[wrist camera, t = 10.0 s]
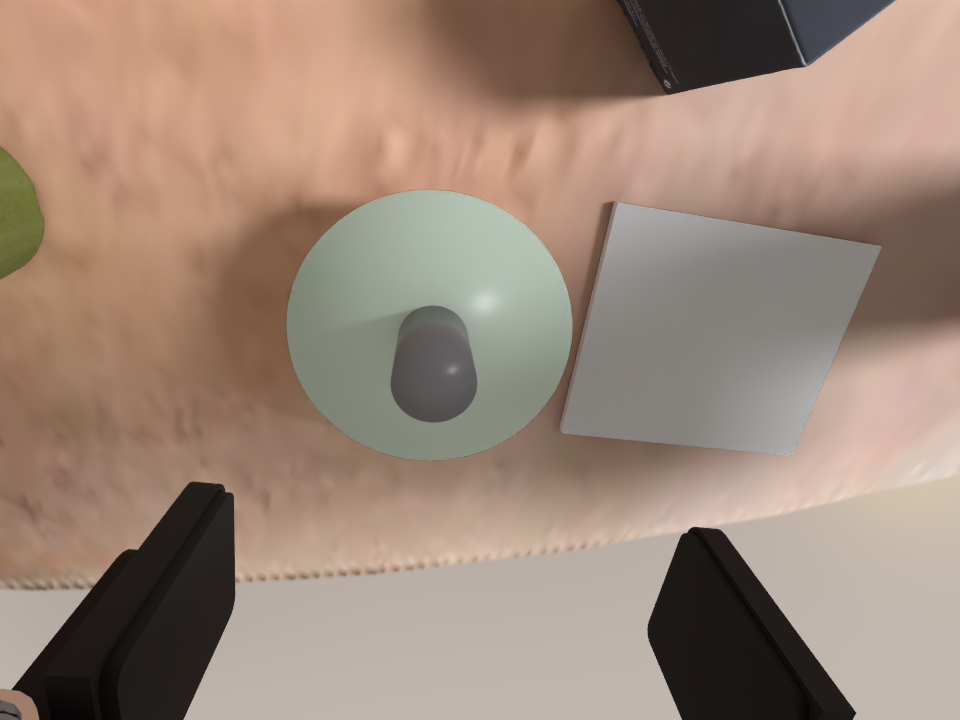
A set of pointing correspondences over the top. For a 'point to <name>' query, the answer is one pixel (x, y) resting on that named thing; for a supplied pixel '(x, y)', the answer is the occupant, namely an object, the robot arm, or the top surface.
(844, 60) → the top surface
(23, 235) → the plant pot
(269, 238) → the top surface
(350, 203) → the top surface
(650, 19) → the small box
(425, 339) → the lid
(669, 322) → the mat
